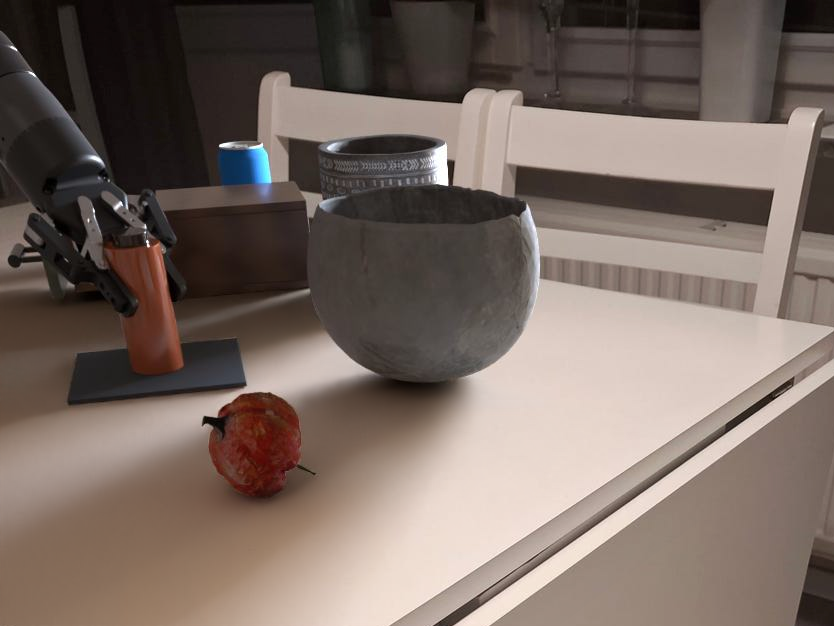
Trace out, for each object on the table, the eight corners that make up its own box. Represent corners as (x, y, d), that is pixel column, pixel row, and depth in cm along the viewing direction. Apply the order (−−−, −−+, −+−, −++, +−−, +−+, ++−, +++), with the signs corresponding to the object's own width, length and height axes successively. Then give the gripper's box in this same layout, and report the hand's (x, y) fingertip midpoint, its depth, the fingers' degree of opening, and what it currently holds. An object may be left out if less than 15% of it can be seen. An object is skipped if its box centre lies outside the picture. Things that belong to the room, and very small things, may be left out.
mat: (68, 405, 91) (66, 400, 90) (77, 356, 101) (76, 352, 101) (247, 386, 93) (246, 381, 93) (237, 341, 104) (237, 337, 104)
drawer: (15, 302, 114) (-6, 231, 109) (25, 277, 123) (6, 210, 118) (191, 287, 118) (178, 218, 113) (189, 263, 126) (177, 198, 122)
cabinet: (172, 299, 117) (155, 211, 112) (171, 272, 127) (155, 190, 121) (316, 286, 120) (306, 200, 115) (304, 261, 130) (294, 180, 124)
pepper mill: (131, 377, 95) (98, 239, 87) (132, 360, 99) (101, 227, 91) (185, 372, 96) (157, 235, 88) (183, 355, 100) (157, 223, 92)
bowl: (495, 425, 85) (493, 231, 75) (281, 399, 90) (255, 216, 81) (564, 350, 100) (569, 181, 90) (377, 332, 105) (364, 171, 96)
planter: (354, 311, 112) (339, 159, 103) (317, 281, 122) (301, 140, 113) (470, 294, 116) (467, 147, 107) (425, 266, 126) (418, 130, 117)
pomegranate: (282, 488, 81) (167, 434, 75) (330, 412, 78) (215, 349, 72) (304, 536, 76) (184, 483, 70) (356, 457, 73) (236, 394, 67)
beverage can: (275, 237, 141) (261, 139, 134) (282, 247, 136) (269, 146, 129) (228, 241, 140) (212, 142, 132) (235, 251, 135) (218, 150, 127)
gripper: (-24, 124, 84) (105, 297, 85) (116, 104, 93) (229, 260, 94) (-38, 190, 89) (82, 350, 91) (94, 164, 98) (202, 310, 100)
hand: (157, 303), depth 93 cm, fingers closed on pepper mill, 5 cm apart
